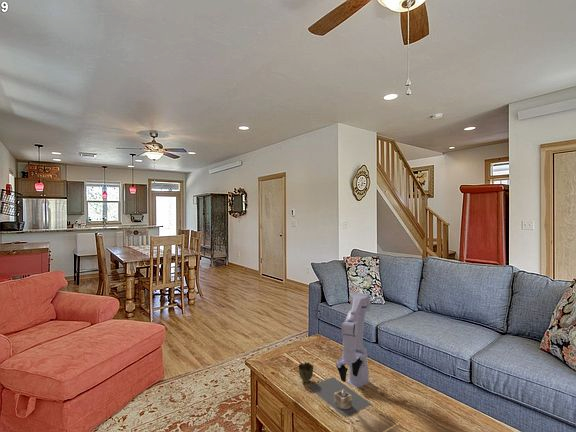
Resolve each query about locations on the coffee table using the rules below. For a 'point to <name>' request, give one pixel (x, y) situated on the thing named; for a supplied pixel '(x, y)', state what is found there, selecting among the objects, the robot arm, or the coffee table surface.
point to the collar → (342, 399)
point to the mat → (333, 385)
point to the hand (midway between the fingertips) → (349, 378)
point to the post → (343, 394)
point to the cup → (306, 372)
